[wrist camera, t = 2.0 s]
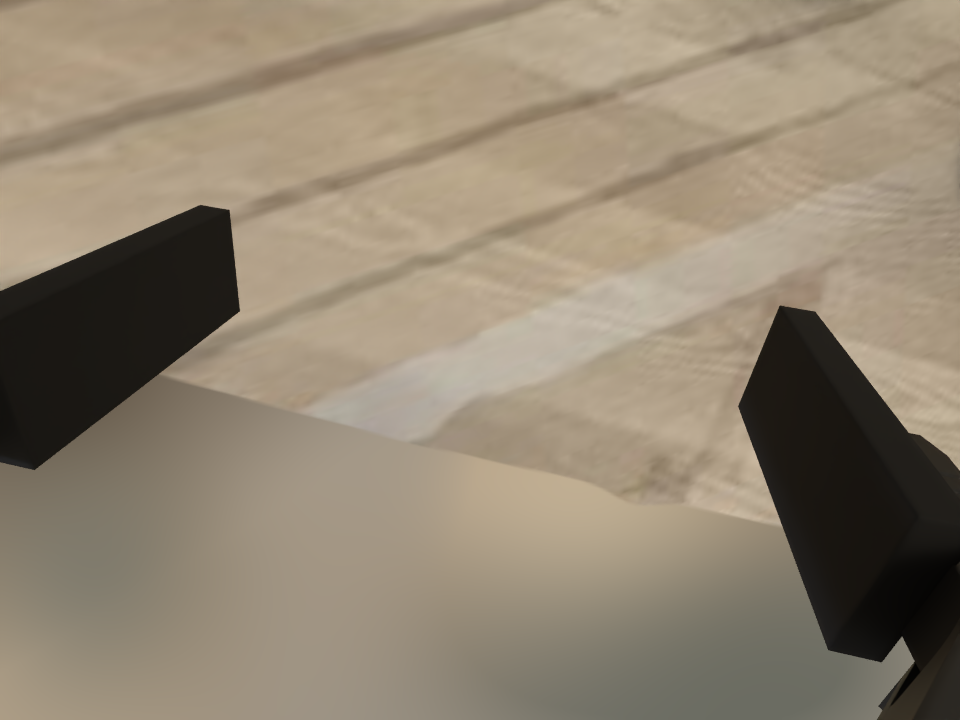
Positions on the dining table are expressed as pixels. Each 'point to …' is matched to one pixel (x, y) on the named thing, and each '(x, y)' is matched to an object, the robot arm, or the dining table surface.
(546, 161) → the dining table surface
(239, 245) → the dining table surface
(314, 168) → the dining table surface
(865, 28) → the dining table surface
